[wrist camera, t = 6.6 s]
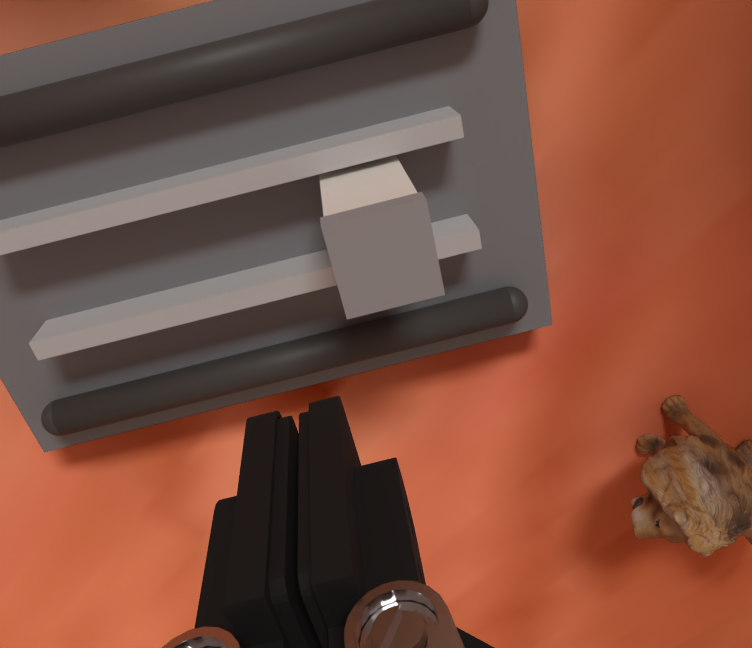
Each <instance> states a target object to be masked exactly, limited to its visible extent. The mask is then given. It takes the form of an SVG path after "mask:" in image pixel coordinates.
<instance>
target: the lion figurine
mask: <svg viewBox="0 0 752 648" xmlns="http://www.w3.org/2000/svg"><path fill="white" fill-rule="evenodd" d="M662 409H663V411H664V412H665V413H666V414H667V415H668V418H669V419H670V420H671V421H673V422H674V423H676V424H678V425H679V426H681V427H682V428H683V429H684V430H685V431H686V432H687V433H688V434H689V436H687V437H685V436H671V437H669V440H668V442H666V441H665V440H664V439H662V438H659V437H656V436H654V435H652V434H645V435H643V436H642V437H640V438H639V439H638V442H637V446H636V447H637V449H638V452H639V453H640V454H653V456H652V457H648V458H647V459H646V461H645V463H643V464H642V467H643V468H642V472H641V475H640V479H641V481H642V482H643V484H644V485H645V486H646V488H647V490H648V493H647V494H645V495H643V496H637V497H634V498H633V499H632V501H631V505H632V507H633V509H634V510H633V511H632V513H631V519H632V524H633V527H634V529H633V532H634V534H635V537H637V538H640V539H644V538H665V539H667V540H668V541H670V542H673V543H682V542H685V543H686V544H687V545H688V547H689V548H690V549H691V550H692V551H694V552H700V553H701V555H702V556H709V555H711V554H712V553H713V552H714V551H715V550H717V549H719V548H721V547H723V546H724V547H728V546H729V544H732V543H734V542H735V539H736V538H737V537H739V536H741V535H744V536H745V537H746V538H747V540H748V541H749V542H750V543H751V544H752V441H745V442H744V443H743V444H741V445H740V446H739V447H738V448H737V451H736V450H735V449H734V448H733V447H731V446H729V445H727V444H725V443H724V442H723V441H722V440H721V438H720V437H719V436H718V434H717V433H716V432H715V431H714V430H712V429H711V428H710V427H708V426H707V425H706V424H705V423H703V422H702V421H701V420H700V419H699V418H697V417H696V416H694V415H693V414H692V413H691V412H690V411H689V409H688V408H687V406H686V402H685V400H684V398H682V397H681V396H671V397H669V398H667V399H666V400H665V401H664V403H663V404H662Z"/></svg>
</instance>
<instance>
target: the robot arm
mask: <svg viewBox="0 0 752 648" xmlns="http://www.w3.org/2000/svg"><path fill="white" fill-rule="evenodd" d="M162 648H494V647H492V646H490V645H488V644H487V643H485V642H483V641H481V640H479V639H477V638H475V637H474V636H472V635H470V634H468V633H466V632H464V631H463V630H461V629H459V628H457V627H456V626H455V623H454V621H453V619H452V616H451V614H450V611H449V609H448V607H447V605H446V604H445V602H444V600H443V599H442V597H441V596H440V594H438V593H437V592H436V591H434V590H433V589H432V588H430V587H429V586H427V585H426V583H425V578H424V573H423V568H422V563H421V558H420V553H419V548H418V543H417V538H416V533H415V528H414V524H413V520H412V515H411V511H410V507H409V503H408V499H407V495H406V491H405V487H404V483H403V480H402V476H401V472H400V469H399V465H398V462H397V459H396V458H391V459H387V460H383V461H379V462H375V463H371V464H367V465H363V466H361V463H360V460H359V457H358V453H357V450H356V447H355V444H354V440H353V437H352V434H351V431H350V427H349V424H348V421H347V417H346V414H345V411H344V408H343V405H342V402H341V399H340V397H339V396H336V397H332V398H328V399H323V400H319V401H315V402H311V403H309V411H308V412H304V413H300V414H299V433H298V431H297V428H296V425H295V422H294V420H293V418H292V416H288V417H284V418H282V416H281V414H280V412H279V411H274V412H270V413H266V414H262V415H258V416H254V417H250V418H248V419H247V422H246V428H245V436H244V444H243V452H242V459H241V467H240V475H239V483H238V491H237V496H234V497H230V498H226V499H222V500H219V501H218V502H217V503H216V506H215V510H214V515H213V521H212V527H211V533H210V539H209V545H208V551H207V557H206V563H205V569H204V575H203V581H202V587H201V593H200V599H199V605H198V611H197V617H196V623H195V629H192V630H188V631H186V632H185V633H183V634H181V635H179V636H177V637H175V638H173V639H172V640H171V641H169V642H168V643H167V644H166V645H164V646H163V647H162Z"/></svg>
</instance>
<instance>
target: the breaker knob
mask: <svg viewBox="0 0 752 648" xmlns="http://www.w3.org/2000/svg"><path fill="white" fill-rule="evenodd" d="M319 180H320V189H321V198H322V207H323V216H324V217H320V224H321V229H322V232H323V236H324V239H325V243H326V247H327V250H328V254H329V257H330V261H331V264H332V268H333V272H334V275H335V279H336V282H337V286H338V289H339V293H340V297H341V300H342V304H343V307H344V311H345V314H346V318H347V319H351V318H355V317H359V316H363V315H367V314H371V313H375V312H379V311H383V310H387V309H391V308H395V307H399V306H403V305H407V304H411V303H415V302H419V301H423V300H427V299H431V298H435V297H439V296H443V295H445V292H444V287H443V282H442V276H441V271H440V266H439V261H438V256H437V251H436V246H435V241H434V236H433V230H432V225H431V220H430V215H429V210H428V205H427V200H426V198H425V196H424V194H423V193H422V192H417V191H416V189H415V187H414V186H413V184H412V182H411V180H410V179H409V177H408V175H407V174H406V172H405V170H404V168H403V167H402V165H401V163H400V161H399V160H398V158H397V156H396V155H393V156H389V157H385V158H381V159H377V160H373V161H369V162H365V163H361V164H357V165H353V166H349V167H346V168H342V169H338V170H334V171H330V172H326V173H322V174H319Z"/></svg>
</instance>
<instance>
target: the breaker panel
mask: <svg viewBox="0 0 752 648" xmlns="http://www.w3.org/2000/svg"><path fill="white" fill-rule="evenodd" d="M393 155H396V156H397V158H398V160H399V161H400V163H401V165H402V167H403V168H404V170H405V172H406V174H407V175H408V177H409V179H410V180H411V182H412V184H413V186H414V187H415V189H416V191H417V192H422V193H423V194H424V196H425V198H426V200H427V205H428V210H429V215H430V220H431V225H432V230H433V236H434V241H435V246H436V251H437V256H438V261H439V266H440V271H441V276H442V282H443V287H444V292H445V295H443V296H439V297H435V298H431V299H427V300H423V301H419V302H415V303H411V304H407V305H403V306H399V307H395V308H391V309H387V310H383V311H379V312H375V313H371V314H367V315H363V316H359V317H355V318H351V319H347V318H346V314H345V311H344V307H343V304H342V300H341V297H340V293H339V289H338V286H337V282H336V279H335V275H334V272H333V268H332V264H331V261H330V257H329V254H328V250H327V247H326V243H325V239H324V236H323V232H322V229H321V224H320V217H324V216H323V207H322V198H321V189H320V180H319V174H322V173H326V172H330V171H334V170H338V169H342V168H346V167H349V166H353V165H357V164H361V163H365V162H369V161H373V160H377V159H381V158H385V157H389V156H393ZM550 325H552V317H551V308H550V300H549V291H548V282H547V273H546V264H545V255H544V246H543V237H542V228H541V219H540V210H539V201H538V192H537V183H536V175H535V166H534V157H533V148H532V139H531V130H530V121H529V112H528V103H527V94H526V85H525V76H524V67H523V59H522V50H521V41H520V32H519V23H518V14H517V5H516V0H214V1H210V2H206V3H202V4H199V5H195V6H191V7H187V8H183V9H179V10H175V11H171V12H167V13H164V14H160V15H156V16H152V17H148V18H144V19H140V20H136V21H132V22H129V23H125V24H121V25H117V26H113V27H109V28H105V29H101V30H98V31H94V32H90V33H86V34H82V35H78V36H74V37H70V38H66V39H63V40H59V41H55V42H51V43H47V44H43V45H39V46H35V47H31V48H28V49H24V50H20V51H16V52H12V53H8V54H4V55H0V378H1V380H2V382H3V384H4V385H5V387H6V389H7V390H8V392H9V394H10V395H11V397H12V399H13V400H14V402H15V404H16V405H17V407H18V409H19V410H20V412H21V414H22V416H23V417H24V419H25V421H26V422H27V424H28V426H29V427H30V429H31V431H32V432H33V434H34V436H35V437H36V439H37V441H38V442H39V444H40V446H41V448H42V449H43V451H44V452H48V451H51V450H55V449H59V448H63V447H67V446H71V445H75V444H79V443H83V442H87V441H91V440H95V439H99V438H103V437H107V436H111V435H115V434H119V433H123V432H127V431H131V430H135V429H139V428H143V427H147V426H151V425H155V424H159V423H163V422H167V421H171V420H175V419H179V418H183V417H187V416H191V415H195V414H199V413H203V412H207V411H211V410H215V409H219V408H223V407H227V406H231V405H235V404H239V403H243V402H247V401H251V400H255V399H259V398H263V397H267V396H271V395H275V394H279V393H283V392H287V391H291V390H295V389H299V388H303V387H307V386H311V385H315V384H319V383H322V382H326V381H330V380H334V379H338V378H342V377H346V376H350V375H354V374H358V373H362V372H366V371H370V370H374V369H378V368H382V367H386V366H390V365H394V364H398V363H402V362H406V361H410V360H414V359H418V358H422V357H426V356H430V355H434V354H438V353H442V352H446V351H450V350H454V349H458V348H462V347H466V346H470V345H474V344H478V343H482V342H486V341H490V340H494V339H498V338H502V337H506V336H510V335H514V334H518V333H522V332H526V331H530V330H534V329H538V328H542V327H546V326H550Z"/></svg>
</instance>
